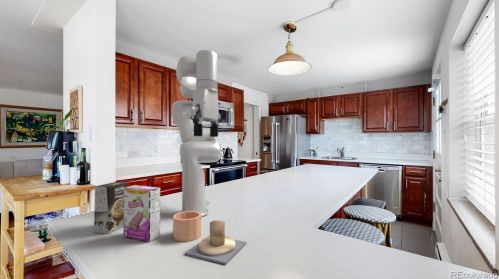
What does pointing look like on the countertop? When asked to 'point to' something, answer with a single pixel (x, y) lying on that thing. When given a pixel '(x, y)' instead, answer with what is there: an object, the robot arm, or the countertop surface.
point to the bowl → (187, 226)
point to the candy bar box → (142, 212)
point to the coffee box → (109, 207)
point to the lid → (217, 241)
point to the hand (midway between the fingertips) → (206, 136)
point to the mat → (218, 259)
